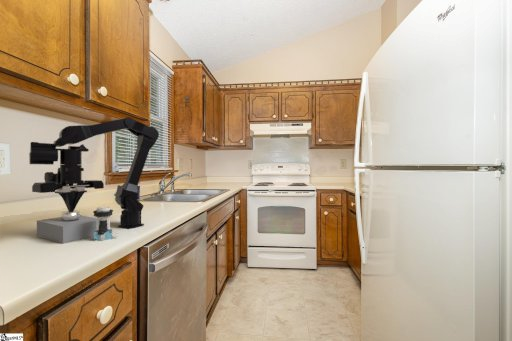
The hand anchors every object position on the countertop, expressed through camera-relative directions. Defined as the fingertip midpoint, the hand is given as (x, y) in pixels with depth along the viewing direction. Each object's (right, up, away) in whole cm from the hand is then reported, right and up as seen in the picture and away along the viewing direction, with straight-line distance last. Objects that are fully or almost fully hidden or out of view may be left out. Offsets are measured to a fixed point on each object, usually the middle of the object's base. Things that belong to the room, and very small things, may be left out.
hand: (71, 211), depth 84 cm
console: (0, -8, 0) cm, 8 cm away
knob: (0, -8, 0) cm, 8 cm away
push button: (+14, -8, -4) cm, 16 cm away
